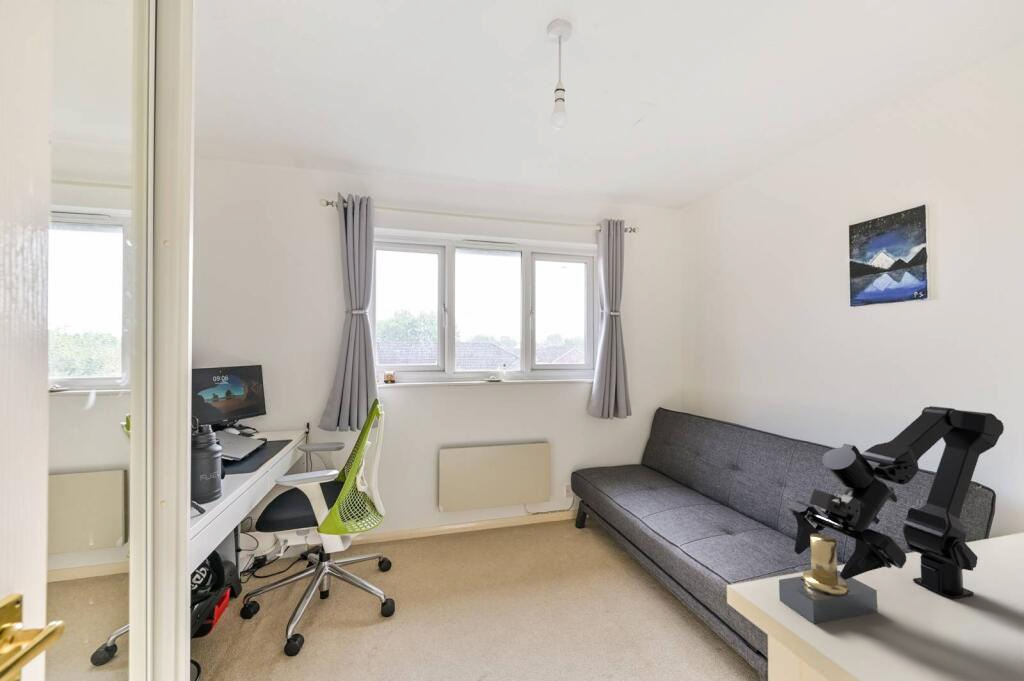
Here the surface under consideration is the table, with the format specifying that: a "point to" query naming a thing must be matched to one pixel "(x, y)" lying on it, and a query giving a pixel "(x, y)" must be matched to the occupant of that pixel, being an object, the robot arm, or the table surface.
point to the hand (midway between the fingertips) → (817, 564)
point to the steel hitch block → (827, 600)
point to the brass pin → (824, 567)
